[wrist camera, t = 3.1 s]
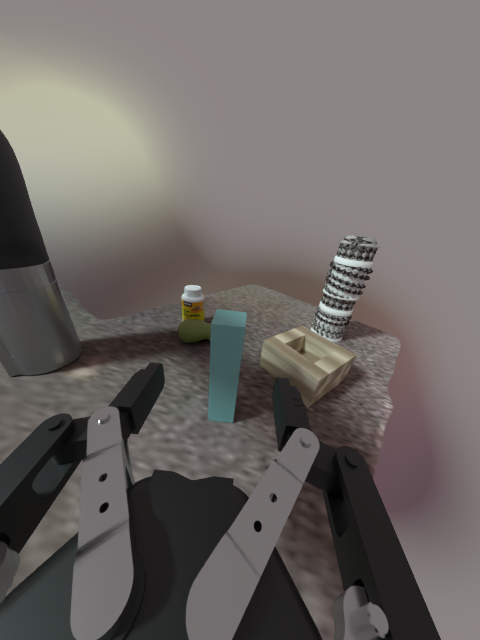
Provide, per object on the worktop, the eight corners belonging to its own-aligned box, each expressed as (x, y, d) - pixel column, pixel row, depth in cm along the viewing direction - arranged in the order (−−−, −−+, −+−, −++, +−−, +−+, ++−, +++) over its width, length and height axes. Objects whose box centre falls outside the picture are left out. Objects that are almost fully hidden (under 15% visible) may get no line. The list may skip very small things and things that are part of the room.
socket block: (308, 407, 31) (319, 380, 28) (259, 364, 39) (264, 339, 36) (344, 379, 37) (356, 355, 34) (296, 347, 46) (302, 325, 43)
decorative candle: (314, 341, 49) (350, 236, 37) (305, 323, 57) (332, 233, 45) (349, 345, 49) (396, 241, 37) (335, 327, 57) (370, 237, 45)
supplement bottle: (180, 328, 48) (178, 290, 43) (185, 318, 53) (184, 282, 48) (202, 330, 48) (202, 292, 43) (205, 320, 53) (206, 284, 48)
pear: (179, 313, 43) (221, 318, 47) (176, 333, 45) (217, 336, 49) (179, 325, 38) (226, 329, 42) (176, 347, 40) (221, 349, 44)
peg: (233, 423, 27) (245, 327, 20) (208, 419, 27) (211, 323, 20) (235, 401, 30) (246, 312, 23) (212, 399, 30) (216, 309, 23)
